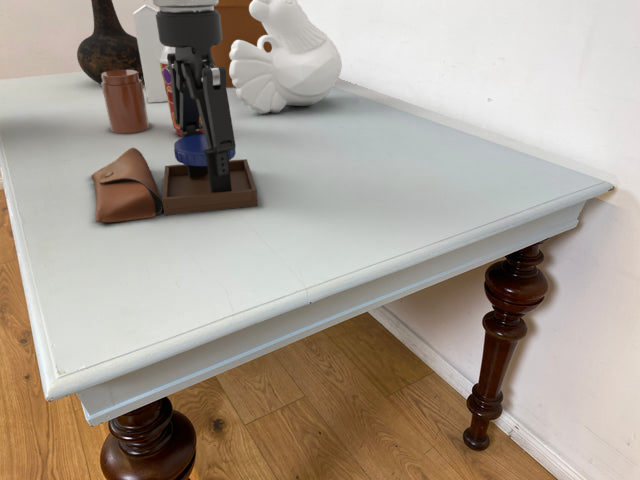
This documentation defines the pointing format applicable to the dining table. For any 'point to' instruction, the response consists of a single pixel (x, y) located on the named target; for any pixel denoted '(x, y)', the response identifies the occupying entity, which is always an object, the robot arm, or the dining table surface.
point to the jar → (124, 101)
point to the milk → (150, 52)
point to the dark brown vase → (108, 45)
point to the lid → (194, 150)
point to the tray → (206, 190)
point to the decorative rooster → (284, 60)
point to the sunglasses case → (126, 190)
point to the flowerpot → (236, 32)
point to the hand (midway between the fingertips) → (209, 185)
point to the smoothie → (167, 83)
